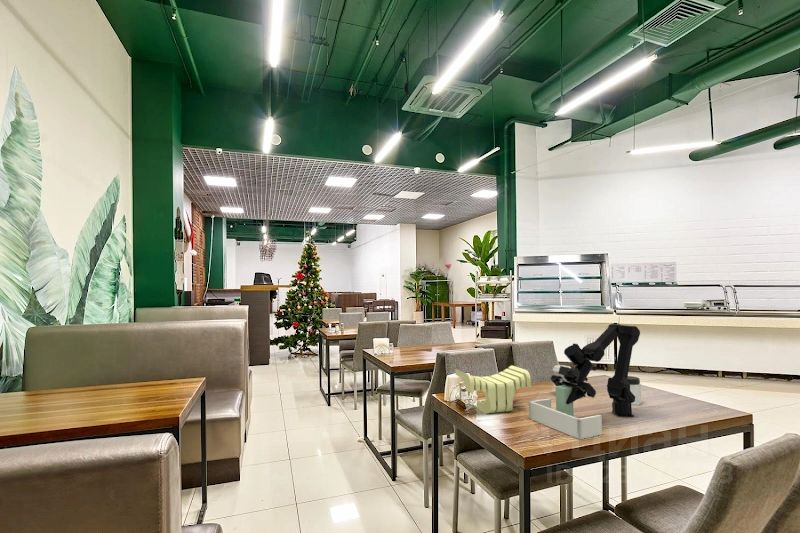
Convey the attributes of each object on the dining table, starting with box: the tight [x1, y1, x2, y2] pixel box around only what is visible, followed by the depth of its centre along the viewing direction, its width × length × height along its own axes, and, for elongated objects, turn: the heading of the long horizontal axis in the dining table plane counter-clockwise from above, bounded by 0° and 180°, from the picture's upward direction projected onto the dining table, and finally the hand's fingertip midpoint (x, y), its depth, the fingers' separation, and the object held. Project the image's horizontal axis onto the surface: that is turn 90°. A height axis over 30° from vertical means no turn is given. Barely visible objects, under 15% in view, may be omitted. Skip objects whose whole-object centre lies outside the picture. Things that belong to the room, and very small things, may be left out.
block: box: [555, 385, 575, 417], centre depth 153 cm, size 4×4×12 cm
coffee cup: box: [552, 364, 572, 381], centre depth 197 cm, size 10×10×15 cm
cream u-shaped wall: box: [528, 398, 603, 440], centre depth 152 cm, size 12×26×7 cm, turn 23°
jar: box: [627, 375, 643, 406], centre depth 184 cm, size 9×8×12 cm
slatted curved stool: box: [455, 365, 532, 414], centre depth 176 cm, size 30×16×18 cm, turn 105°
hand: (561, 402), depth 153 cm, fingers closed on block, 4 cm apart
